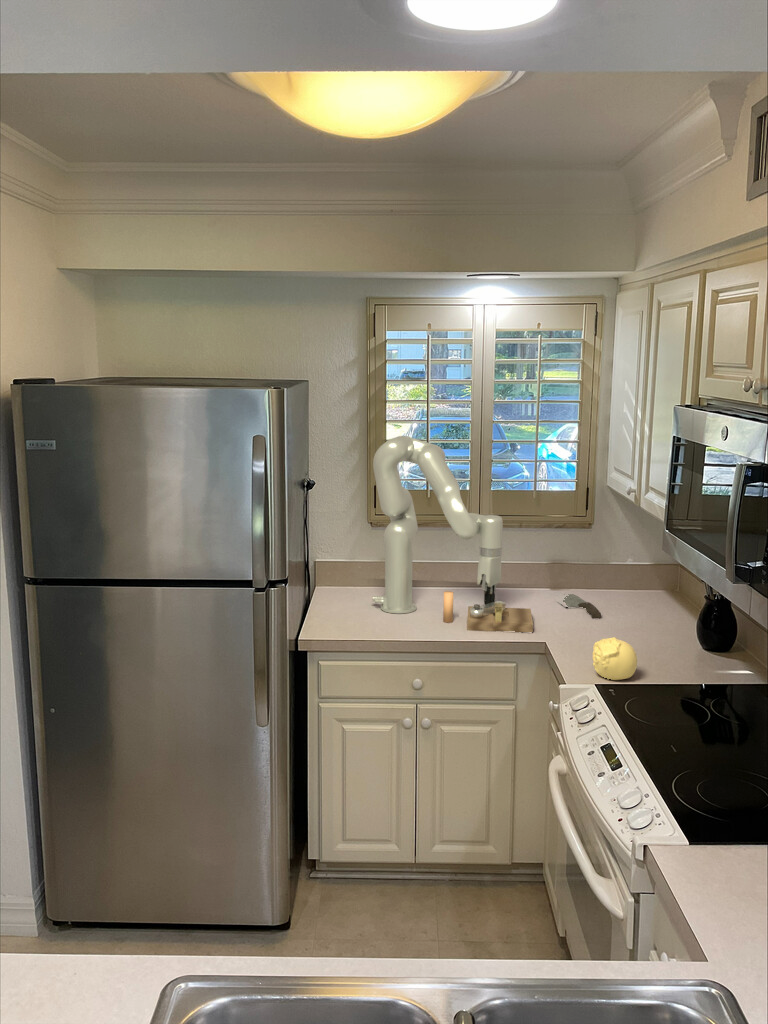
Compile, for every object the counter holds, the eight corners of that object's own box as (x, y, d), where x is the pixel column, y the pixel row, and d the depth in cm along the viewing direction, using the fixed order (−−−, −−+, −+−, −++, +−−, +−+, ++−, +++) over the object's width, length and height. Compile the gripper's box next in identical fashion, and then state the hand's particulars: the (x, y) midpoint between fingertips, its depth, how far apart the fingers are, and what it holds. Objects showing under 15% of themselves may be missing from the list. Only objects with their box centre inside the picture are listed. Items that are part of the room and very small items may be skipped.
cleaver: (607, 619, 283) (608, 613, 283) (580, 620, 282) (581, 614, 281) (573, 596, 312) (573, 590, 312) (548, 597, 310) (548, 592, 310)
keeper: (494, 621, 269) (494, 608, 269) (494, 615, 276) (494, 602, 275) (502, 622, 269) (502, 608, 268) (501, 616, 275) (502, 603, 275)
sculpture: (587, 668, 237) (588, 632, 235) (629, 668, 237) (631, 632, 235) (596, 684, 226) (598, 645, 224) (641, 684, 226) (643, 646, 224)
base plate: (466, 630, 270) (467, 609, 269) (468, 614, 287) (468, 595, 286) (532, 633, 268) (533, 612, 266) (530, 617, 284) (530, 597, 283)
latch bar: (477, 618, 272) (477, 611, 271) (467, 615, 275) (467, 608, 274) (507, 609, 282) (507, 602, 281) (496, 606, 285) (497, 600, 285)
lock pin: (443, 622, 278) (443, 593, 276) (443, 619, 281) (444, 591, 279) (452, 623, 278) (453, 594, 276) (453, 620, 281) (453, 591, 279)
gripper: (490, 546, 290) (488, 597, 293) (470, 554, 277) (469, 608, 281) (510, 549, 286) (508, 600, 289) (491, 557, 273) (490, 611, 277)
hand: (489, 604), depth 285 cm, fingers closed
